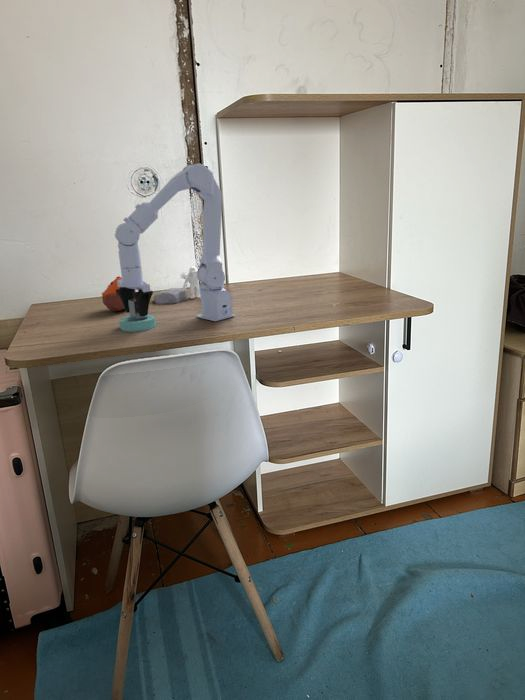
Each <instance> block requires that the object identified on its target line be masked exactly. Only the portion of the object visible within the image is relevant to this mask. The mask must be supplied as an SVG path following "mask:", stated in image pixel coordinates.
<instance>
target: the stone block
mask: <svg viewBox="0 0 525 700" xmlns="http://www.w3.org/2000/svg"><path fill="white" fill-rule="evenodd" d="M187 297H188V290H187V288H186V287H185V289H184V288H183V287H180V288H179V287H171V288H168V289H164V290H161V291H159V292H158V293H156V294H155V295H153V302H154V303H155V304H159V305H160V304H161V305H163V304H179V303H180V302H181V301H183V300H184V299H186V298H187Z"/></svg>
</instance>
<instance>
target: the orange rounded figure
mask: <svg viewBox="0 0 525 700" xmlns="http://www.w3.org/2000/svg"><path fill="white" fill-rule="evenodd" d="M117 280H122V276H116V277H115V279H113V280H112V281H111V282H110V283H109V284H108V285H107V288H106V289H105V290H104V291H102V292H101V296H102V297H101V298H102V303H103V305H104V306H105V307H106V308H107V309H109V311H112V312H121V311H123V310H125V308H124V305H123V303H122V300H121V298H120V297H119V295H118V294H117V293H116V289H120V287H118V284H117ZM135 292H137V290H135ZM134 299H135V298H134Z"/></svg>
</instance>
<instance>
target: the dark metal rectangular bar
mask: <svg viewBox="0 0 525 700" xmlns="http://www.w3.org/2000/svg"><path fill="white" fill-rule="evenodd" d="M128 303H129V311H130V312H129V316H130V319H131V321H141V320H145V319H146V316H142V317H141V316H140V315H139V311H138V306H137V303H136V300H135V299H132V300H128Z"/></svg>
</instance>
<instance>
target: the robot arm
mask: <svg viewBox="0 0 525 700" xmlns="http://www.w3.org/2000/svg"><path fill="white" fill-rule="evenodd" d="M189 189H190V190H193V192H196V193H197V195H199V197H200V198H202V199H203V219H202V221H203V223H202V225H203V228H202V254H201V258H200V261H199V263H200V266H198V268H197V269H198V271H197V277H198V279H199V283H200V284H199V288H200V307H201V314H196V315H195V317H196V318H200V319H203V320H208V321H212V322H218V321H221V320H226V319H229V318H233V317H235V316H236V314H233V300H232V298H233V297H232V295H231V292H230V291H228V290H226V289H225V288H224V287H225V286H224V283H225V281H226V275H225V272H224V270H223V262H222V258H221V234H222V233H221V231H222V230H221V229H222V207H223V206H222V202H223V201H222V200H223V195H222V194H223V192H222V191H221V189H220V187H219V185H218V183H217V181H216V178H215V176H214V173H213V171H212V170H210V169H209V167H207V166H206V165H205V164H202V163H194V164H188V165H186V166H185V167H183V168H182V170H180V171H179V172H177V173H176V174H175V175H174V176H173V177H171V178H170V180H169V181H168V182H167V183H166V184H165V185H164V186H163V187H162V188H161V189H160V191H158V193H157V194H156V195H155V196H154V197H153V198H152V199H151V200H150V201H149V202H142V203H141V204H140V203H137V204H136V206H135V210H134V211H132V213H130V215H129V216H128V217H124V218H123V219H122V220H123V221H124V222H123V223H120V224H119V225H117V227H116V228H115V234H114V237H115V239H116V240H117V248H118V258H119V266H120V274H121V278H122V280H117V284H118V287H120V289H116V293H117V294H118V295H119V297H120V298H121V300H122V303H123V305H124V308H125V309H124V310H125V313H129V314H130V311H129V303H128V300H132V299H134V298H135V300H136V303H137V306H138V311H139V315H140V316H141V317H142V316H146V315H148V313H149V306H150V302H151V298H152V296H153V295H154V291H153V290H151V286H150V283H147V282H145V281H144V279H143V270H142V269H143V268H142V261H141V254H140V253H141V251H140V249H139V240H140V235H142V234H144V233H145V232H146V231H147V230H148V229H149V228H150V226H151V225H153V223H155V221H156V220H157V219H159V210H160V209H162V208H163V207H164V206H165V205H166V204H167V203H168V202H169V201H171V199H172V198H173V197H174V196H176V195H177V193H179V192H181V191H185V190H189ZM135 290H136V292H135Z"/></svg>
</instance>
